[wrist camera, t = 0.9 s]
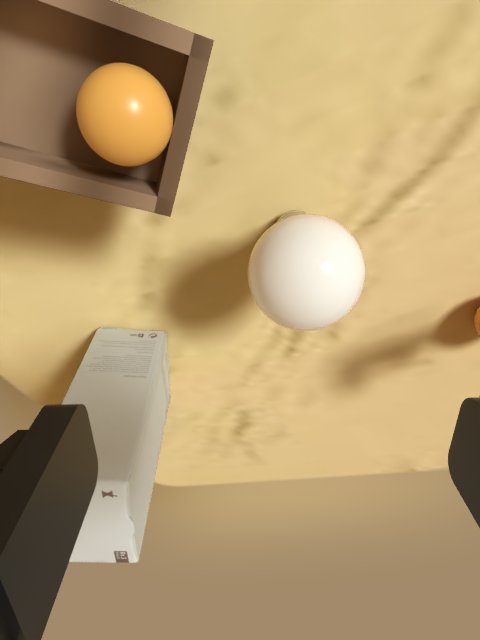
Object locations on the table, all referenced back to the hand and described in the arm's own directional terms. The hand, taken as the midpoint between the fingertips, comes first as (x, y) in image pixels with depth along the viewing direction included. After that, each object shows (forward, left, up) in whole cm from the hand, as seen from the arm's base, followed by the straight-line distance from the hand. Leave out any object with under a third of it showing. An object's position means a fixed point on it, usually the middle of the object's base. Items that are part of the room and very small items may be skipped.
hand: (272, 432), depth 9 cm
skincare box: (+18, -5, -23) cm, 30 cm away
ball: (-3, -7, -13) cm, 15 cm away
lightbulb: (+2, +3, -23) cm, 23 cm away
